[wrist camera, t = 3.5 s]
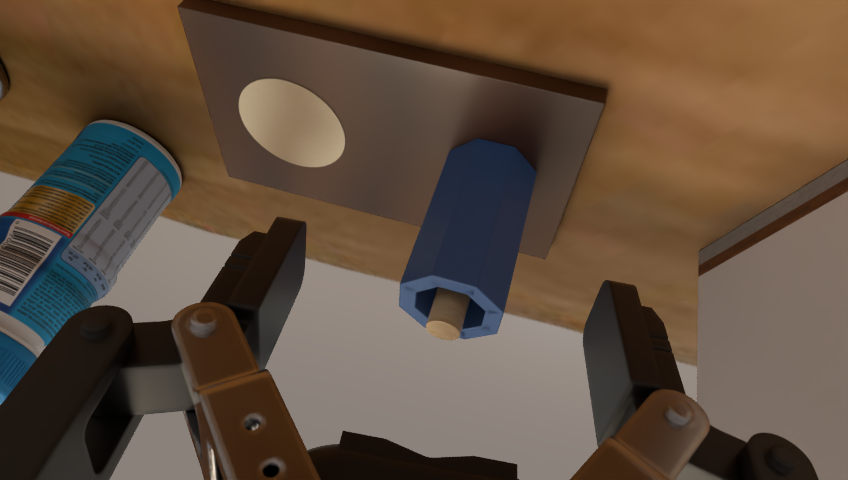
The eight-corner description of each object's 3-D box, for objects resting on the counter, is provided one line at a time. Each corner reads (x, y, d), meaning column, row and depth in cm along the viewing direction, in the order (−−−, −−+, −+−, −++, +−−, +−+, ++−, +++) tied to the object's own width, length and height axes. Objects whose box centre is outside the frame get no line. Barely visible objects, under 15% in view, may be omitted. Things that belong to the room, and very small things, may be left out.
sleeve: (444, 192, 39) (398, 320, 33) (451, 131, 35) (400, 266, 29) (525, 212, 39) (492, 347, 33) (543, 153, 34) (509, 296, 28)
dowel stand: (235, 165, 45) (145, 301, 38) (187, -6, 34) (46, 141, 27) (548, 246, 42) (515, 410, 35) (607, 89, 31) (577, 282, 24)
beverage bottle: (207, 180, 48) (45, 413, 36) (151, 201, 53) (-7, 412, 41) (119, 100, 43) (-99, 339, 32) (67, 131, 48) (-138, 348, 37)
